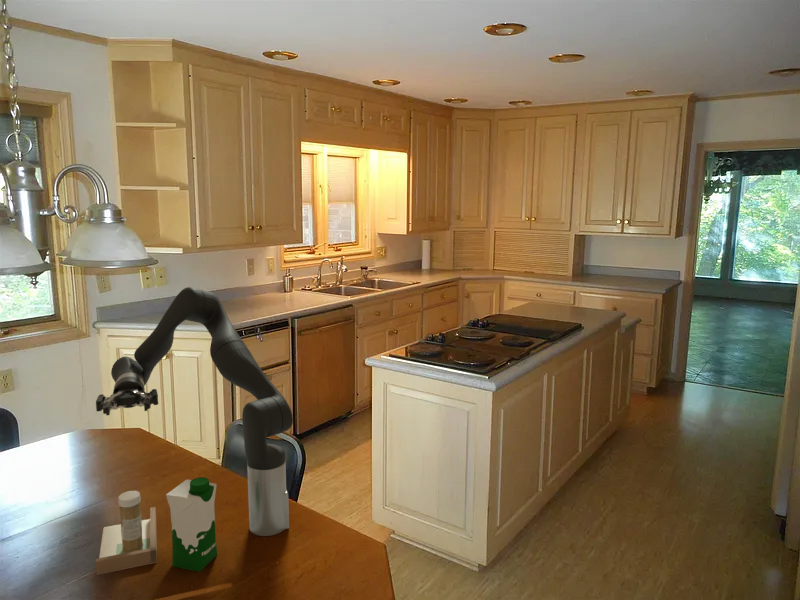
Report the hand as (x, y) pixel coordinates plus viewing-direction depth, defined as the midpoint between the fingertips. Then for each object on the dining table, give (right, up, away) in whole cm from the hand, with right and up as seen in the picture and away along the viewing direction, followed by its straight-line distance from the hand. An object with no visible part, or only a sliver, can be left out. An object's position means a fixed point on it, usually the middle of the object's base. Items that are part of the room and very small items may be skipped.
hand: (126, 409), depth 145 cm
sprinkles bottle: (+5, -31, -8) cm, 32 cm away
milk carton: (+20, -33, -11) cm, 40 cm away
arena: (+3, -31, -5) cm, 32 cm away
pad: (+5, -31, -8) cm, 32 cm away
